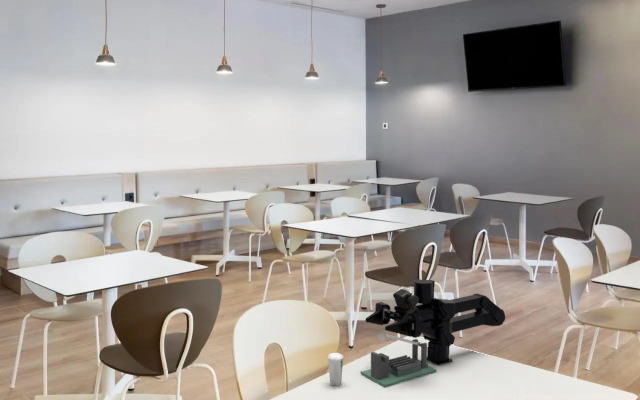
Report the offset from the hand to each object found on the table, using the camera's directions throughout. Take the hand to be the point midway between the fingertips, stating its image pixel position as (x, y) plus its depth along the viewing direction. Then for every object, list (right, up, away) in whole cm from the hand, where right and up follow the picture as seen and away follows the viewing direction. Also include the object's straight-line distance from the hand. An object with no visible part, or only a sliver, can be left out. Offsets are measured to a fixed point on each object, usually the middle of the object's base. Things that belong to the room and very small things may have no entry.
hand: (375, 324), depth 179 cm
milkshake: (-11, -17, -2) cm, 21 cm away
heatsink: (+8, -16, +6) cm, 19 cm away
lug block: (+1, -16, +1) cm, 17 cm away
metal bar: (+8, -7, +5) cm, 12 cm away
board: (+8, -16, +6) cm, 19 cm away
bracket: (+14, -15, +10) cm, 23 cm away
